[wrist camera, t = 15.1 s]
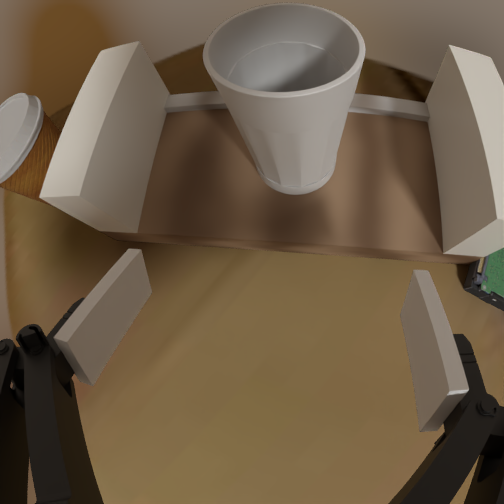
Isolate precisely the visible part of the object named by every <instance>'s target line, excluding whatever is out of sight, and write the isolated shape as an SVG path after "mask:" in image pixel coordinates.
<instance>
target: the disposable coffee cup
mask: <svg viewBox="0 0 504 504" xmlns="http://www.w3.org/2000/svg"><path fill="white" fill-rule="evenodd" d="M60 135H61V132H60V131H59V130H58V129H57V127H56V126H55V125H54V124H53V122H52V121H51V120H50V119H49V117H48V116H47V115H46V113H45V112H44V111H43V108H42V105H41V101H40V100H39V99H38V98H37V97H36V96H29V95H27V94H25V93H18V94H16V95H14V96H12V97H10V98H8V99H7V100H6V101H4V102H3V103H2V104H1V105H0V187H2V188H4V189H7V190H10V191H12V192H15V193H18V194H21V195H24V196H26V197H29V198H32V199H34V200H37V201H40V202H44V203H46V204H48V205H51V204H50V203H48V202H46V201H44V200H43V199H41V198H39V197H40V193H41V190H42V187H43V183H44V180H45V177H46V174H47V171H48V168H49V165H50V162H51V159H52V157H53V154H54V151H55V148H56V146H57V143H58V140H59V138H60ZM51 206H53V205H51ZM54 207H55V206H54Z"/></svg>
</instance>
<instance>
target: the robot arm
mask: <svg viewBox="0 0 504 504" xmlns="http://www.w3.org/2000/svg"><path fill="white" fill-rule="evenodd" d="M151 294H152V290H151V286H150V282H149V278H148V275H147V271H146V267H145V263H144V258H143V254H142V250H141V249H128V250H127V251H126V252H125V253H124V254H123V256H122V257H121V258H120V259H119V260H118V261H117V262H116V263H115V264H114V266H113V267H112V268H111V269H110V270H109V271H108V272H107V273H106V275H105V276H104V277H103V278H102V279H101V280H100V282H99V283H98V284H97V285H96V286H95V287H94V289H93V290H92V291H91V292H90V293H89V294H88V296H87V297H86V298H81V299H80V300H78V301H77V302H75V303H74V304H73V305H72V306H71V307H70V309H69V310H68V311H67V313H65V315H64V316H63V318H61V319H60V321H59V322H58V323H57V324H56V326H55V327H54V328H53V329H52V331H51V332H50V333H49V334H48V336H47V337H46V336H45V335H44V333H43V331H42V329H41V327H40V326H38V325H36V324H31V325H27V326H25V327H24V328H22V329H21V330H20V331H19V332H18V334H17V336H16V340H17V342H18V344H19V345H20V347H16V345H15V344H14V342H13V341H12V340H11V339H3V340H1V341H0V504H27V488H28V486H27V485H28V467H29V457H30V463H31V471H32V476H33V482H34V488H35V493H36V497H37V501H36V503H35V504H104V503H103V500H102V497H101V494H100V491H99V488H98V485H97V482H96V479H95V475H94V472H93V469H92V465H91V461H90V458H89V454H88V450H87V446H86V442H85V438H84V434H83V429H82V425H81V420H80V415H79V410H78V405H77V400H76V394H75V388H74V383H73V380H72V379H71V378H72V376H73V374H74V373H75V375H76V376H77V378H78V379H79V381H80V382H83V383H86V384H89V385H92V386H93V385H94V384H95V382H96V380H97V379H98V377H99V375H100V374H101V372H102V370H103V369H104V367H105V365H106V364H107V362H108V360H109V359H110V357H111V356H112V354H113V352H114V351H115V349H116V348H117V346H118V344H119V343H120V341H121V340H122V338H123V337H124V335H125V333H126V332H127V330H128V329H129V327H130V326H131V324H132V322H133V321H134V319H135V318H136V316H137V315H138V313H139V312H140V310H141V309H142V307H143V306H144V304H145V303H146V301H147V300H148V298H149V297H150V295H151ZM400 317H401V321H402V326H403V331H404V335H405V340H406V345H407V351H408V356H409V361H410V367H411V373H412V379H413V385H414V392H415V399H416V406H417V414H418V422H419V431H420V432H425V431H437V430H438V429H439V428H440V427H441V425H442V424H443V423H444V429H445V432H444V433H443V434H442V435H441V436H440V438H439V439H438V440H437V441H436V442H435V443H434V444H435V446H434V447H433V449H432V450H431V451H430V453H429V454H428V456H427V457H426V458H425V460H424V461H423V462H422V464H421V465H420V466H419V468H418V469H417V470H416V472H415V473H414V474H413V475H412V477H411V478H410V479H409V480H408V482H407V483H406V484H405V485H404V486H403V488H402V489H401V490H400V491H399V492H398V493H397V495H396V496H395V497H394V498H393V499H392V500H391V501H390V503H389V504H450V502H451V501H452V499H453V498H454V496H455V495H456V493H457V492H458V490H459V489H460V487H461V485H462V484H463V482H464V481H465V479H466V477H467V476H468V474H469V472H470V471H471V469H472V467H473V465H474V464H475V462H476V460H477V458H478V456H479V455H480V456H479V459H478V463H477V466H476V469H475V472H474V476H473V479H472V482H471V485H470V488H469V490H468V493H467V496H466V499H465V501H464V504H504V407H502V406H499V404H498V402H497V400H496V399H495V398H494V397H493V396H492V395H490V394H487V392H486V390H485V386H484V383H483V379H482V376H481V373H480V370H479V367H478V364H477V363H476V362H477V361H476V358H475V355H474V352H473V349H472V346H471V343H470V342H469V341H468V339H467V338H466V337H465V336H464V335H463V334H452V331H451V328H450V325H449V322H448V319H447V317H446V314H445V311H444V308H443V306H442V303H441V301H440V298H439V295H438V293H437V290H436V288H435V285H434V283H433V281H432V278H431V276H430V273H429V271H426V270H413V274H412V277H411V281H410V284H409V288H408V291H407V295H406V298H405V301H404V304H403V307H402V310H401V314H400ZM11 382H12V383H13V387H12V389H11V388H10V384H11Z"/></svg>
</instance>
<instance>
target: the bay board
mask: <svg viewBox="0 0 504 504" xmlns="http://www.w3.org/2000/svg"><path fill="white" fill-rule="evenodd" d="M164 109H165V110H166V112H167V114H166V118H165V121H164V124H163V128H162V131H161V135H160V138H159V142H158V146H157V149H156V153H155V157H154V161H153V165H152V169H151V173H150V177H149V181H148V185H147V189H146V194H145V198H144V203H143V207H142V212H141V217H140V222H139V227H138V232H137V233H126V232H107V231H100V232H102V233H104V234H106V235H108V236H109V237H111V238H113V239H115V240H119V241H135V242H150V243H165V244H179V245H194V246H209V247H224V248H238V249H253V250H267V251H282V252H296V253H311V254H325V255H339V256H353V257H368V258H382V259H396V260H410V261H424V262H437V263H451V264H465V265H468V264H470V263H473V262H475V261H477V260H479V259H481V258H483V257H478V256H467V255H455V254H443V238H442V222H441V209H440V199H439V190H438V182H437V174H436V167H435V160H434V154H433V148H432V142H431V137H430V131H429V126H428V120H429V118H430V114H429V110H428V105H427V103H423V102H417V101H411V100H405V99H398V98H391V97H384V96H376V95H367V94H357V93H355V94H354V97H353V100H352V102H351V104H350V107H349V110H348V114H347V118H346V122H345V125H344V129H343V133H342V137H341V140H340V144H339V147H338V151H337V157H336V165H335V169H334V172H333V174H332V176H331V178H330V179H329V180H328V181H327V183H326V184H324V185H323V186H322V187H321V188H319V189H317V190H315V191H313V192H310V193H307V194H301V195H291V194H285V193H281V192H279V191H276V190H274V189H273V188H271V187H270V186H268V185H267V184H266V183H265V182H264V181H263V180H262V178H261V177H260V175H259V173H258V171H257V167H256V164H255V162H254V160H253V158H252V156H251V154H250V152H249V150H248V148H247V146H246V144H245V141H244V139H243V137H242V135H241V133H240V131H239V129H238V127H237V125H236V123H235V121H234V119H233V117H232V116H231V114H230V112H229V110H228V108H227V106H226V104H225V102H224V100H223V99H222V97H221V95H220V93H219V91H209V92H196V93H185V94H175V95H168V97H167V100H166V103H165V106H164Z"/></svg>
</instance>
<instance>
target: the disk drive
mask: <svg viewBox="0 0 504 504" xmlns="http://www.w3.org/2000/svg"><path fill="white" fill-rule="evenodd" d="M463 288H464V290H465V291H467V292H469V293H471V294H473V295H475V296H476V297H478V298H479V299H481V300H483V301H485V302H486V303H489V304H491V305H493V306H495V307H497V308H499V309H501V310H502V311H504V248H502V249H500V250H498V251H495V252H493V253H491V254H489V255H487V256H485V257H483V258H481V259H479V260H477V261H475V262H473V263H470V266H469V270H468V274H467V277H466V281H465V284H464V287H463Z"/></svg>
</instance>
